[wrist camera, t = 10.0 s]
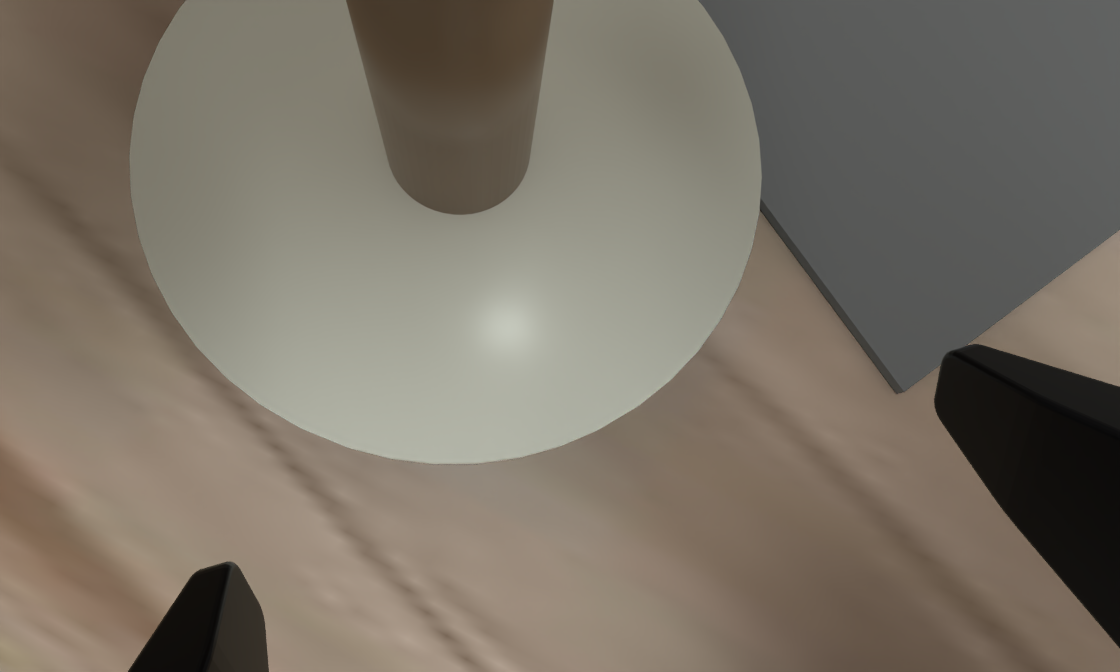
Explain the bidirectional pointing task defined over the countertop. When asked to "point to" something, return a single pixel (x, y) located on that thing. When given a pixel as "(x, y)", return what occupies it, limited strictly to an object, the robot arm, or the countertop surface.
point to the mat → (932, 154)
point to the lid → (446, 210)
